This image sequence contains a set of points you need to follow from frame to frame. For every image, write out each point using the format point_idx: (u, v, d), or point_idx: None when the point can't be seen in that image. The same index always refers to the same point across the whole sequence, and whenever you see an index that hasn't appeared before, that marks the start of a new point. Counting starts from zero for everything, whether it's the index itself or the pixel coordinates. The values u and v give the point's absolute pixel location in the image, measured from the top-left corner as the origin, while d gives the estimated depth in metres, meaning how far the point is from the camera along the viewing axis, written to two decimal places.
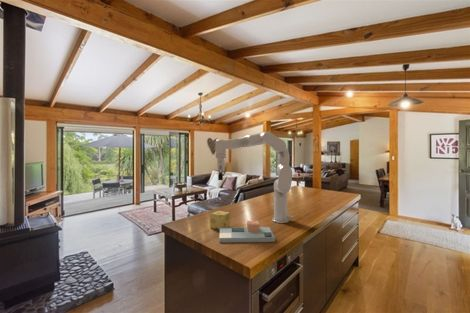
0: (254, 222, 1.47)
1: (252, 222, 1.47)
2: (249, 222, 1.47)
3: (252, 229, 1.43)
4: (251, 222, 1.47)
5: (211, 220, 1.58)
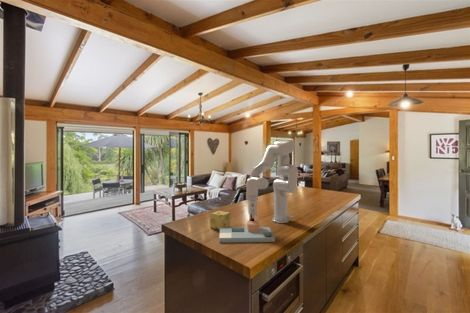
0: (254, 222, 1.47)
1: (252, 222, 1.47)
2: (249, 222, 1.47)
3: (252, 229, 1.43)
4: (251, 222, 1.47)
5: (211, 220, 1.58)
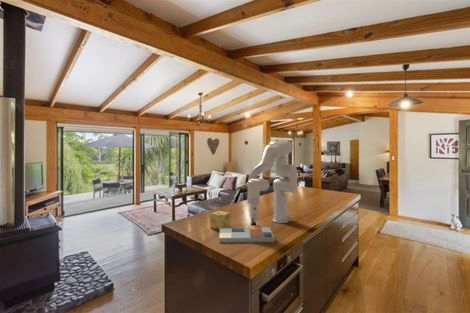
0: (256, 226, 1.39)
1: (254, 226, 1.39)
2: (251, 226, 1.39)
3: (254, 234, 1.35)
4: (253, 227, 1.38)
5: (211, 220, 1.58)
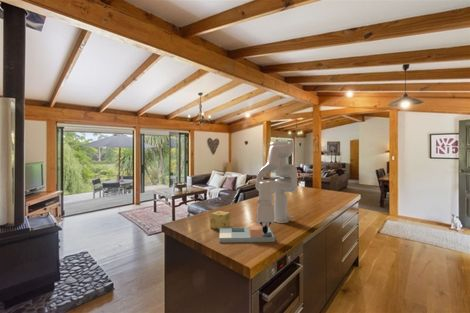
0: (257, 227, 1.38)
1: (254, 227, 1.38)
2: (251, 227, 1.38)
3: (254, 235, 1.34)
4: (254, 227, 1.37)
5: (211, 220, 1.58)
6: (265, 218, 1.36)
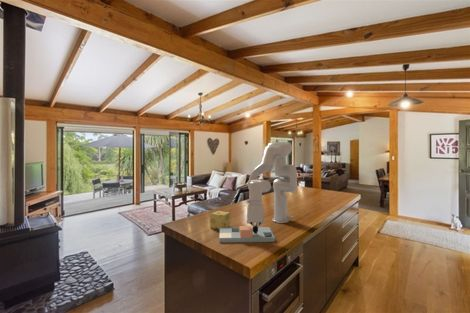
0: (247, 227, 1.37)
1: (245, 227, 1.37)
2: (241, 227, 1.37)
3: (244, 235, 1.33)
4: (244, 228, 1.37)
5: (211, 220, 1.58)
6: (255, 218, 1.35)
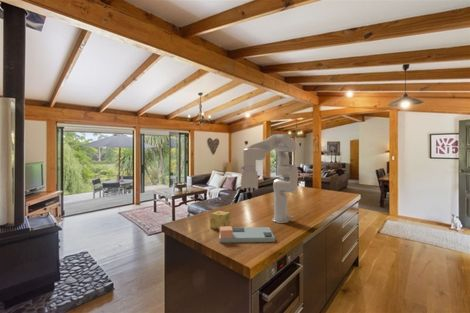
0: (227, 228, 1.36)
1: (225, 228, 1.36)
2: (222, 228, 1.36)
3: (224, 236, 1.32)
4: (224, 228, 1.36)
5: (211, 220, 1.58)
6: (248, 184, 1.39)
